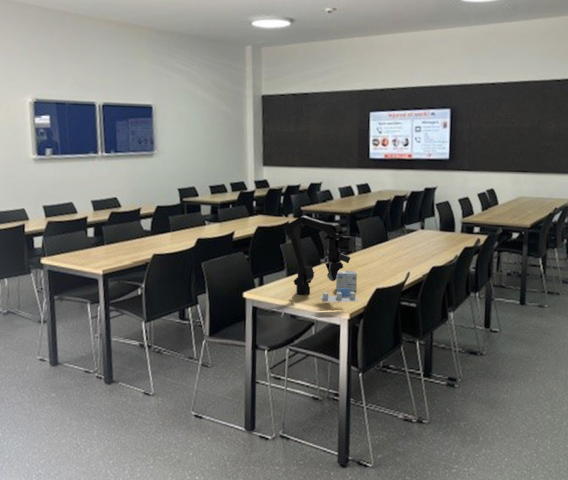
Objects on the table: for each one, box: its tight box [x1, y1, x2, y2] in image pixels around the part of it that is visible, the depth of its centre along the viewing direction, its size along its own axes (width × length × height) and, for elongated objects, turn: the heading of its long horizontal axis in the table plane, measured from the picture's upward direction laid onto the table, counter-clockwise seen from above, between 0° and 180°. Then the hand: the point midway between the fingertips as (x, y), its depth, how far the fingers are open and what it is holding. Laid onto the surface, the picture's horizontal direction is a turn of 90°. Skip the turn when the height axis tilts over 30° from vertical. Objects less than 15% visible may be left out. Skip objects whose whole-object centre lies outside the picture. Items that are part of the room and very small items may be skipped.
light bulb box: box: [335, 270, 358, 292], centre depth 324 cm, size 11×7×11 cm, turn 92°
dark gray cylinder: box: [326, 272, 336, 282], centre depth 303 cm, size 6×4×4 cm, turn 7°
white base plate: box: [319, 288, 359, 303], centre depth 305 cm, size 18×12×5 cm, turn 97°
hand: (332, 278), depth 303 cm, fingers closed on dark gray cylinder, 6 cm apart
